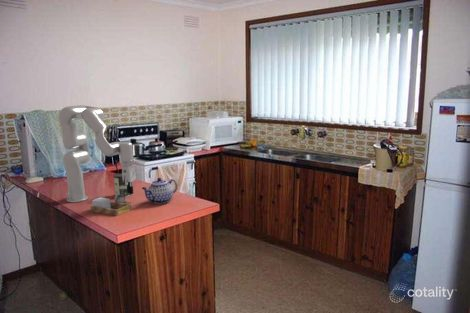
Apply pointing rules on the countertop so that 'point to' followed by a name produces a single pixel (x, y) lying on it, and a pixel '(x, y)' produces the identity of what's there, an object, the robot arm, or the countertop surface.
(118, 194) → the crank
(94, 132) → the robot arm
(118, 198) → the winch
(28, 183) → the countertop surface
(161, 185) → the teapot
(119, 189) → the coffee can
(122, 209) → the bay
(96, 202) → the white rectangular block
